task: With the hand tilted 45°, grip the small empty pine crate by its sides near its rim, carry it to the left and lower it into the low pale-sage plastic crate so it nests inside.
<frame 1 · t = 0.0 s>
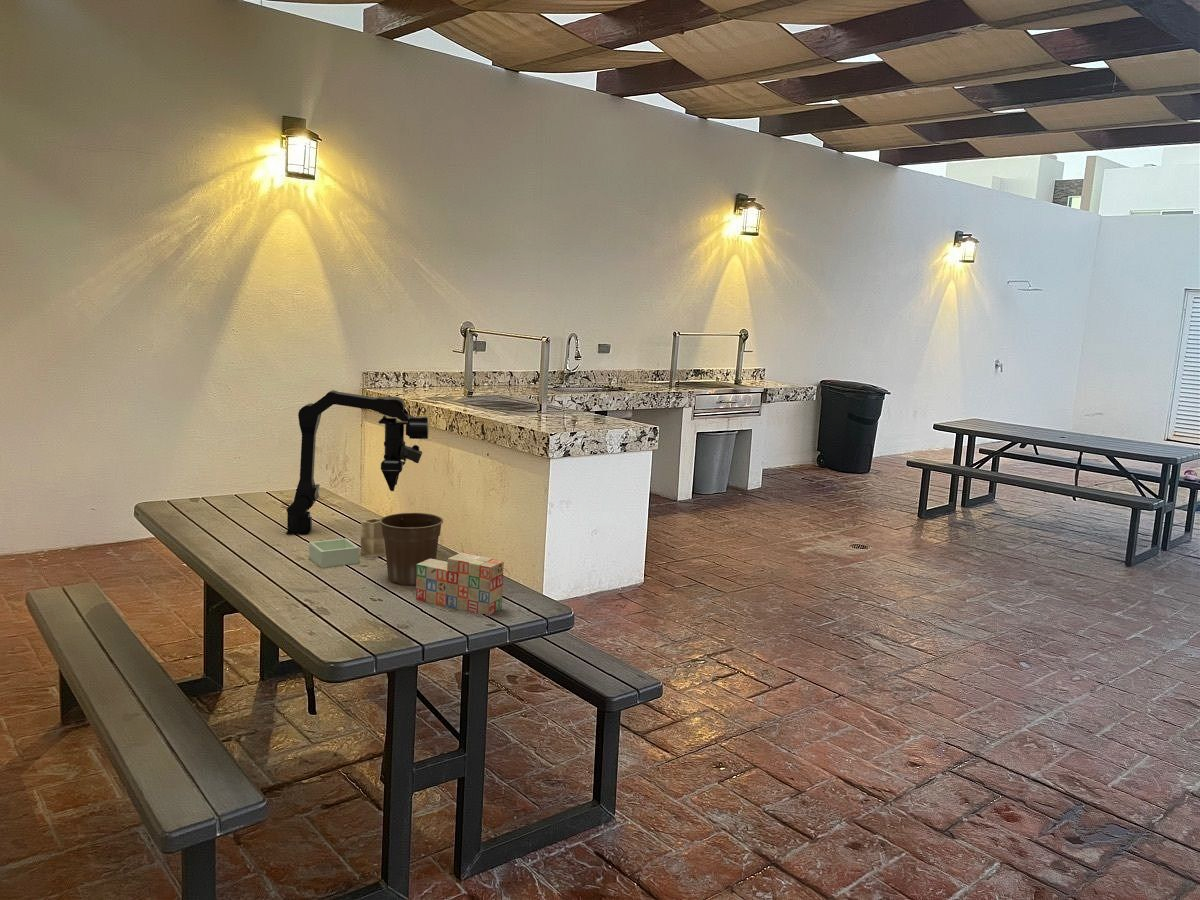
hand: (393, 487, 284), 15 cm above the table, tool pointing down, fingers open, 9 cm apart
sage crate: (334, 560, 255), on the table
plant pot: (410, 579, 243), on the table
stack of blocks: (458, 605, 225), on the table
pine crate: (373, 554, 263), on the table
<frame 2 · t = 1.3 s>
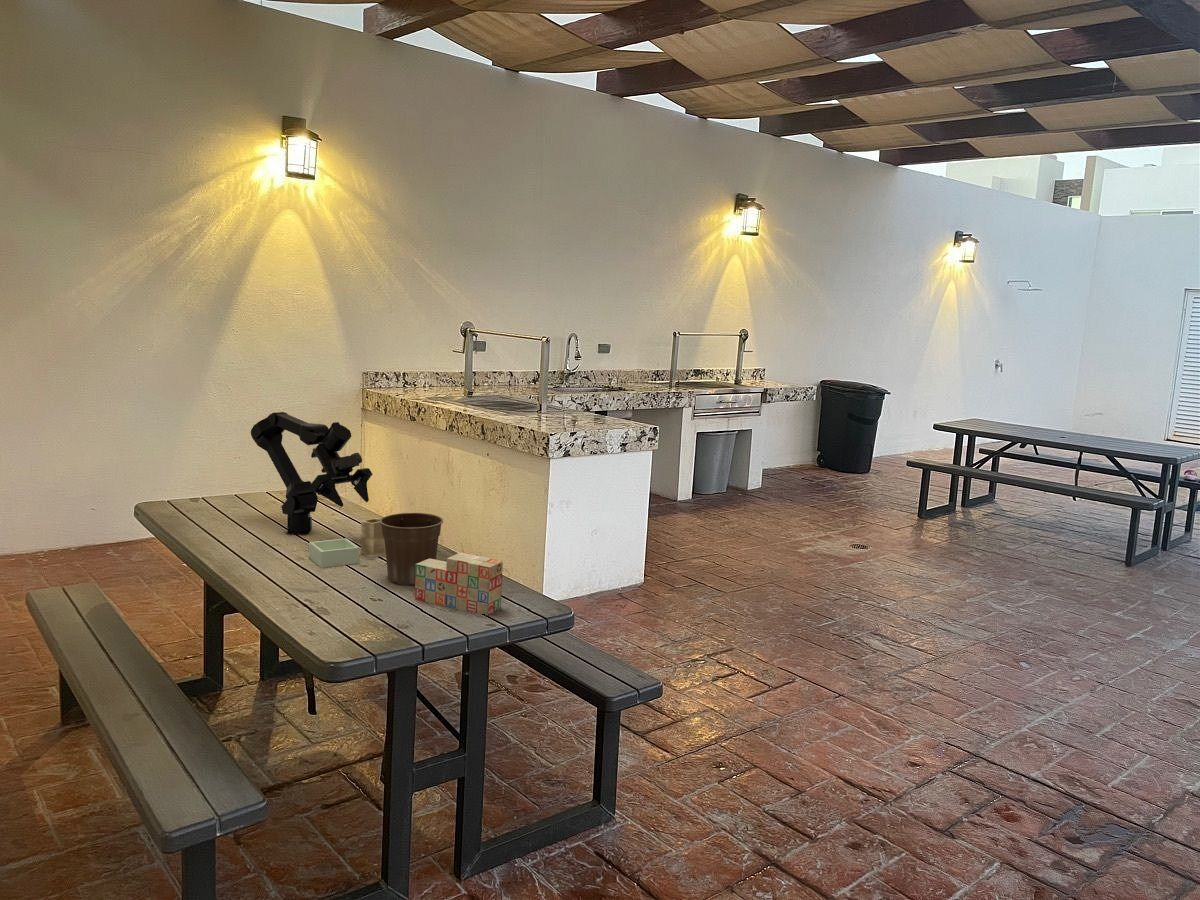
hand: (355, 503, 266), 14 cm above the table, tool tilted 45°, fingers open, 9 cm apart
nothing on the table moved.
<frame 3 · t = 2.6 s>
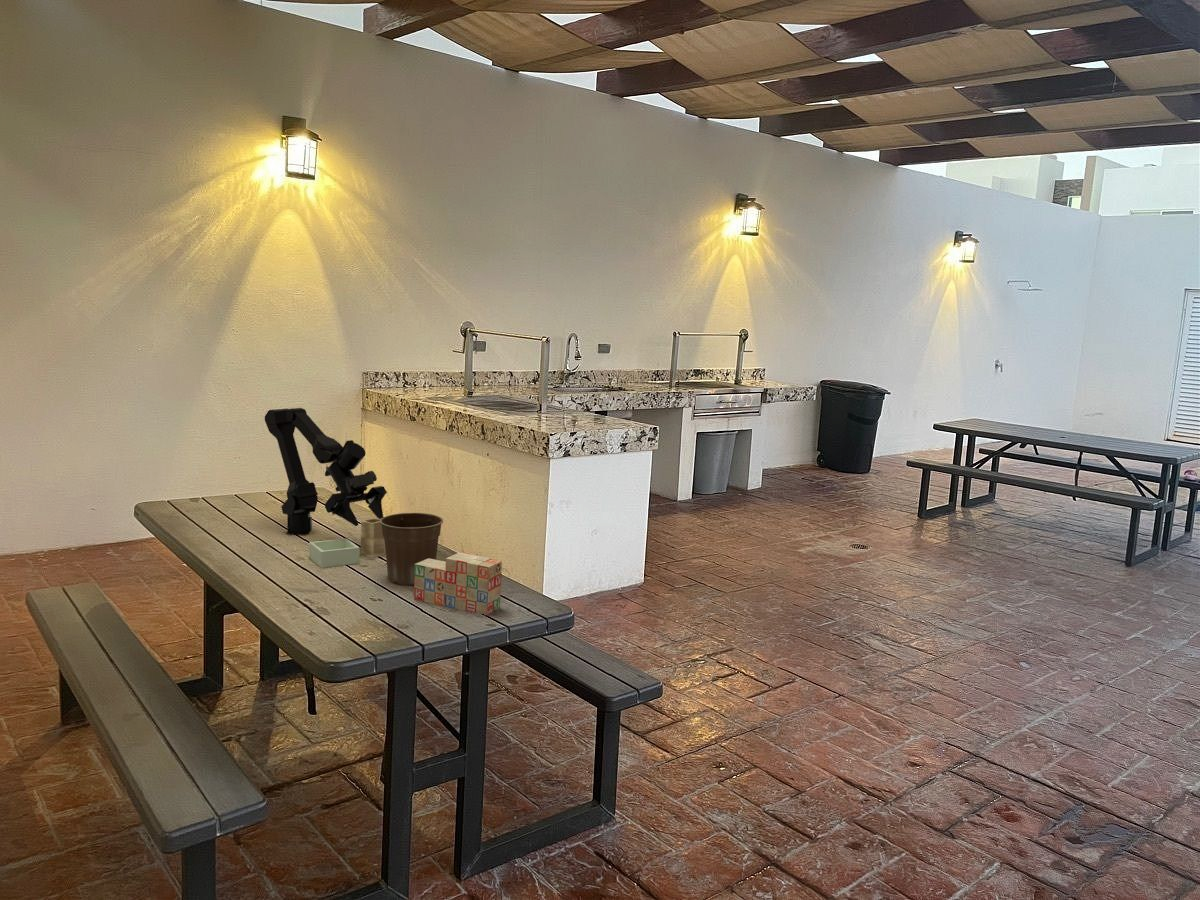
hand: (370, 522, 263), 9 cm above the table, tool tilted 45°, fingers open, 9 cm apart
nothing on the table moved.
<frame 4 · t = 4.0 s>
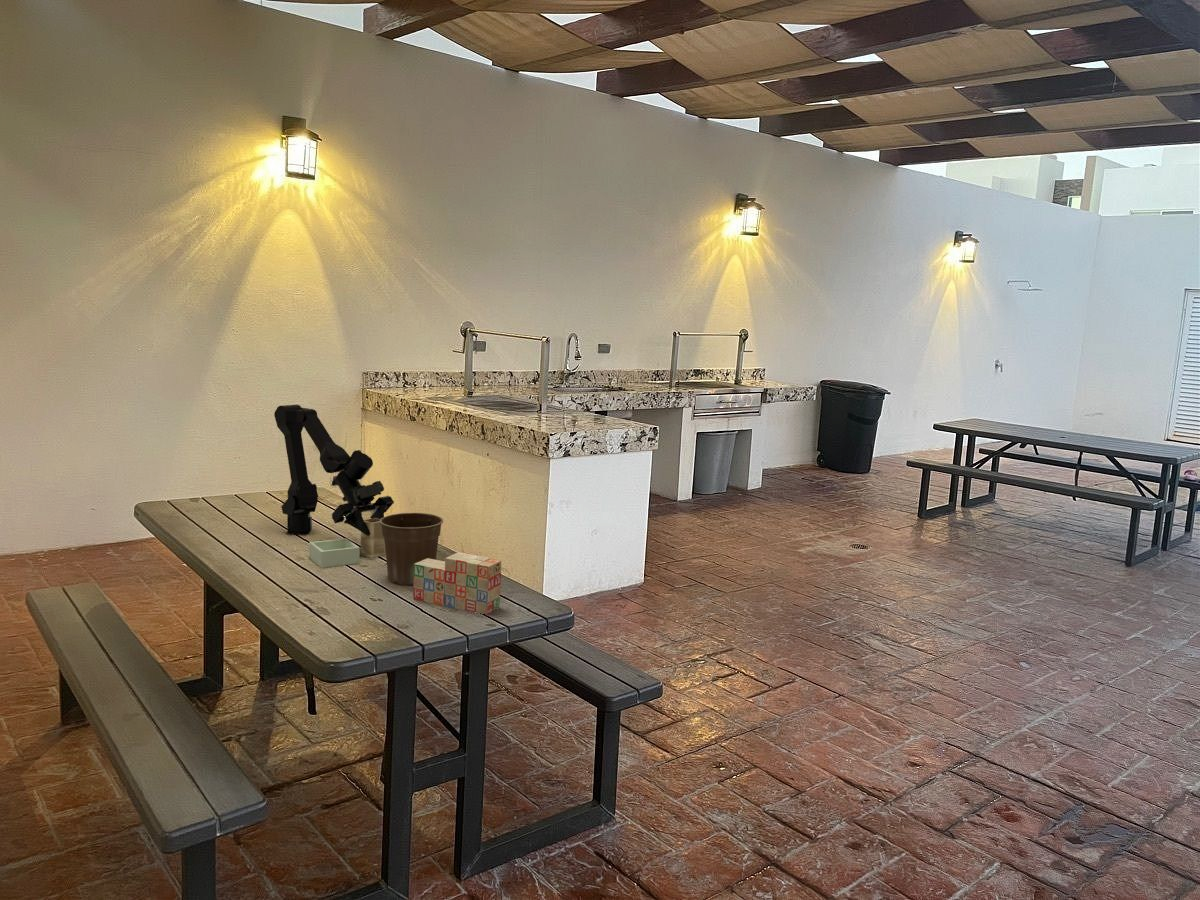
hand: (377, 533, 261), 7 cm above the table, tool tilted 45°, fingers closed on pine crate, 5 cm apart
pine crate: (373, 554, 263), on the table, touching gripper
everything else where it was.
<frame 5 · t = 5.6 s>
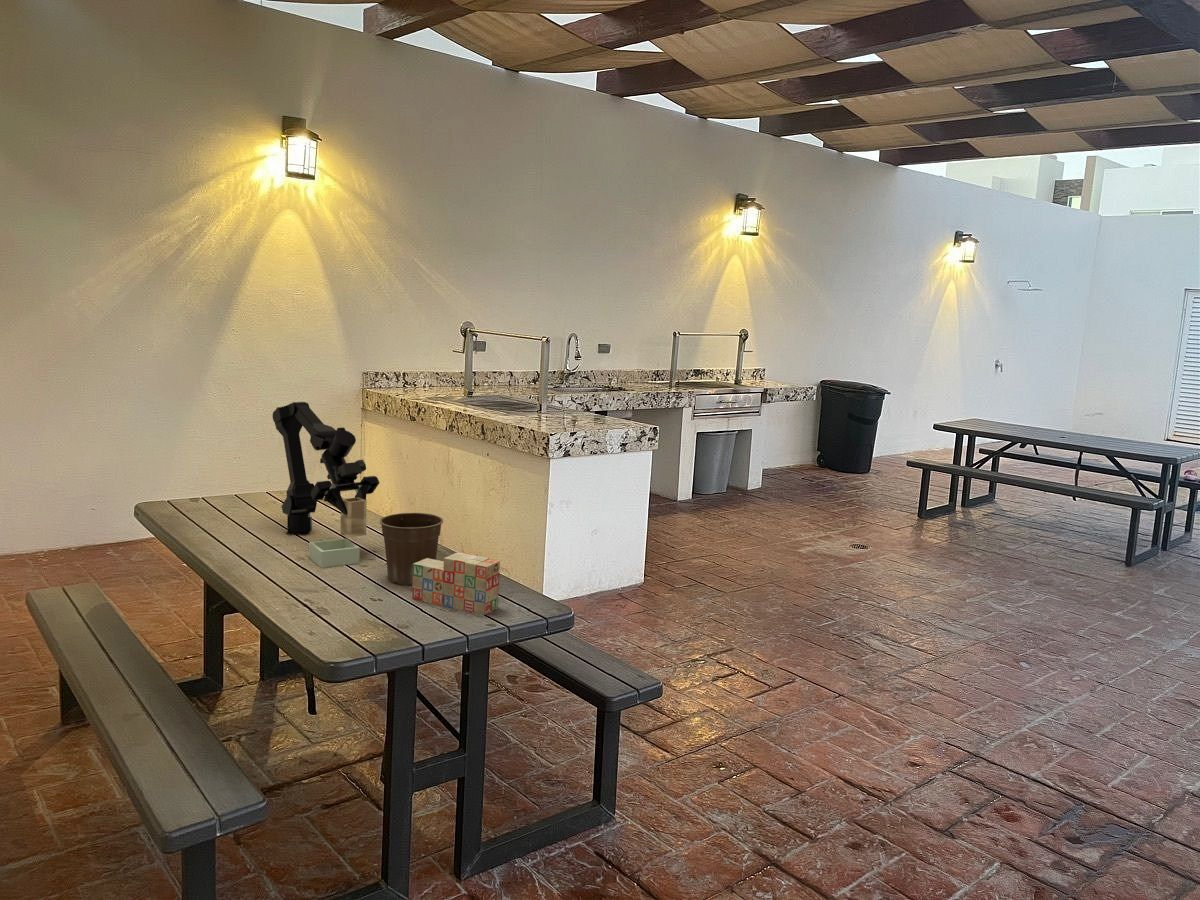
hand: (355, 512, 255), 13 cm above the table, tool tilted 45°, fingers closed on pine crate, 5 cm apart
pine crate: (353, 534, 257), point 7 cm above the table, touching gripper
when the fingers open (9 cm above the table, at t = 7.5 s): pine crate drops 1 cm, resting on sage crate.
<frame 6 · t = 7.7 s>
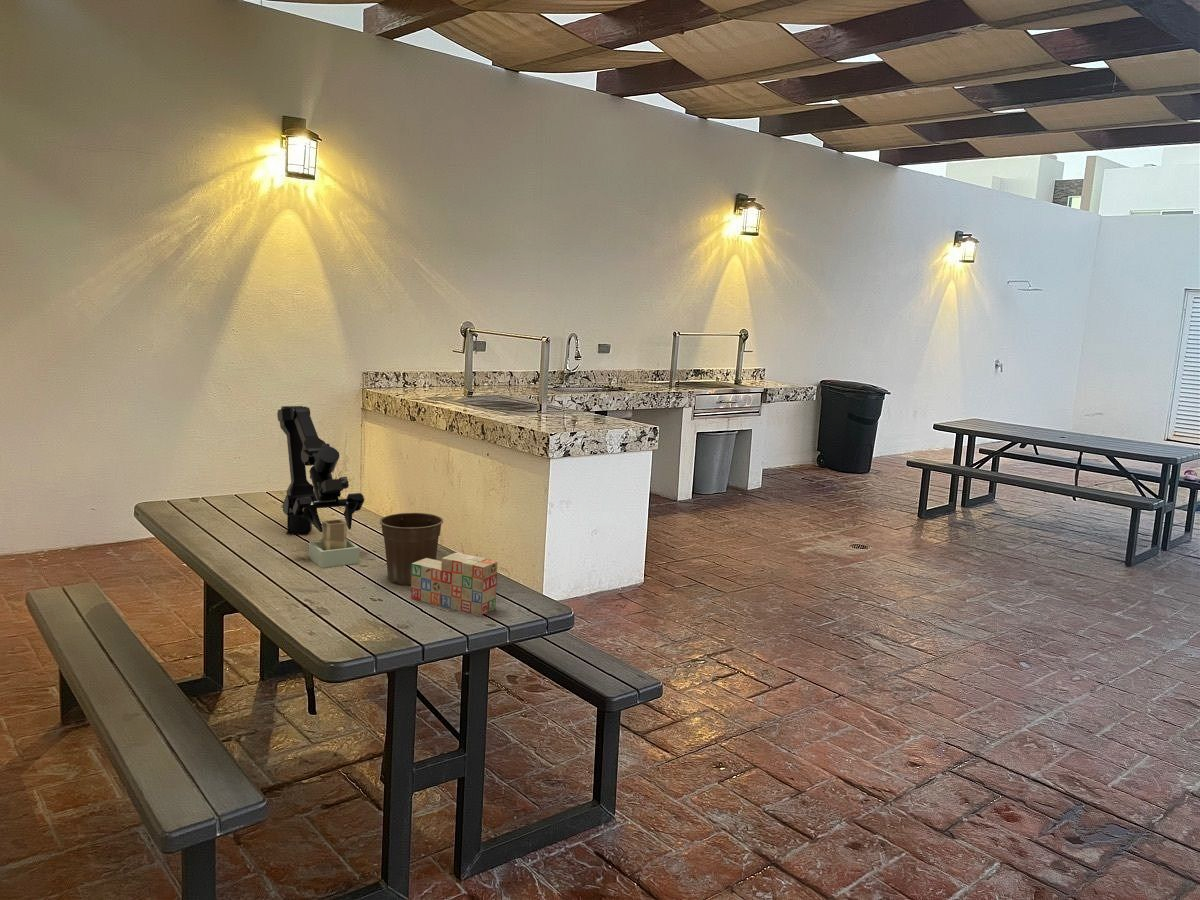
hand: (335, 530, 253), 9 cm above the table, tool tilted 45°, fingers open, 8 cm apart
pine crate: (334, 557, 255), point 1 cm above the table, touching sage crate
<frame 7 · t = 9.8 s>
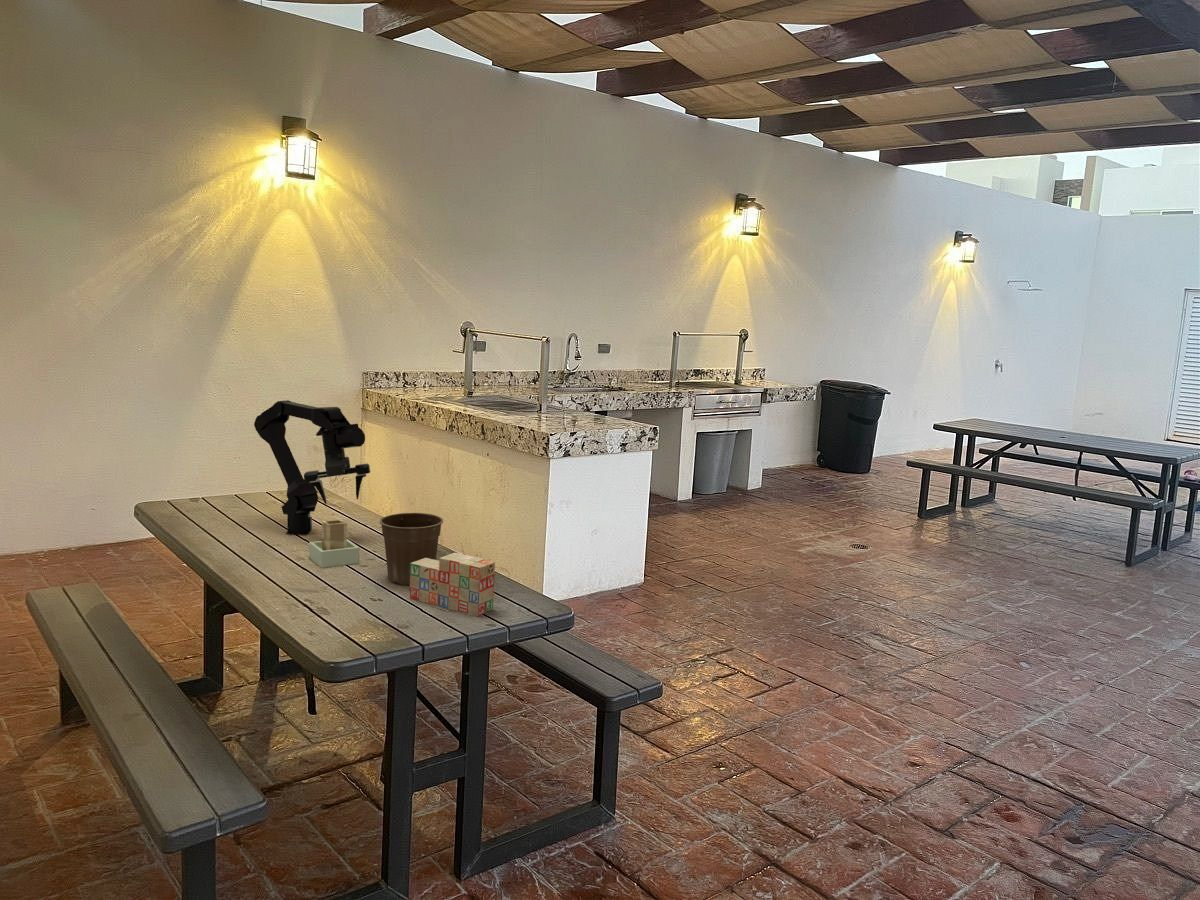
hand: (341, 501, 273), 12 cm above the table, tool pointing down, fingers open, 9 cm apart
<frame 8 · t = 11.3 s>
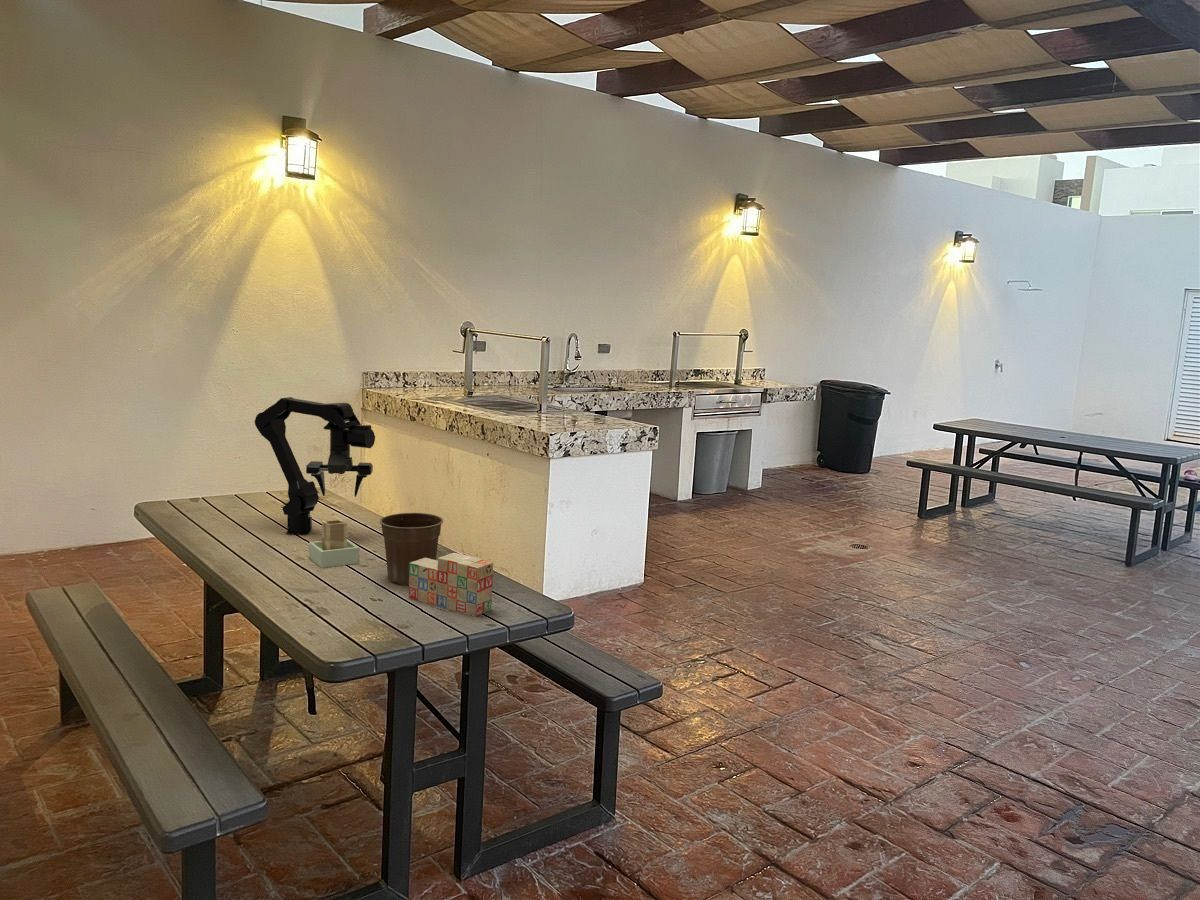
hand: (339, 496, 276), 13 cm above the table, tool pointing down, fingers open, 9 cm apart
at the end: pine crate 0.1 cm off-centre on the sage crate, point 1.0 cm above the sage crate's base; pine crate tilted 0°; the gripper is holding nothing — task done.
